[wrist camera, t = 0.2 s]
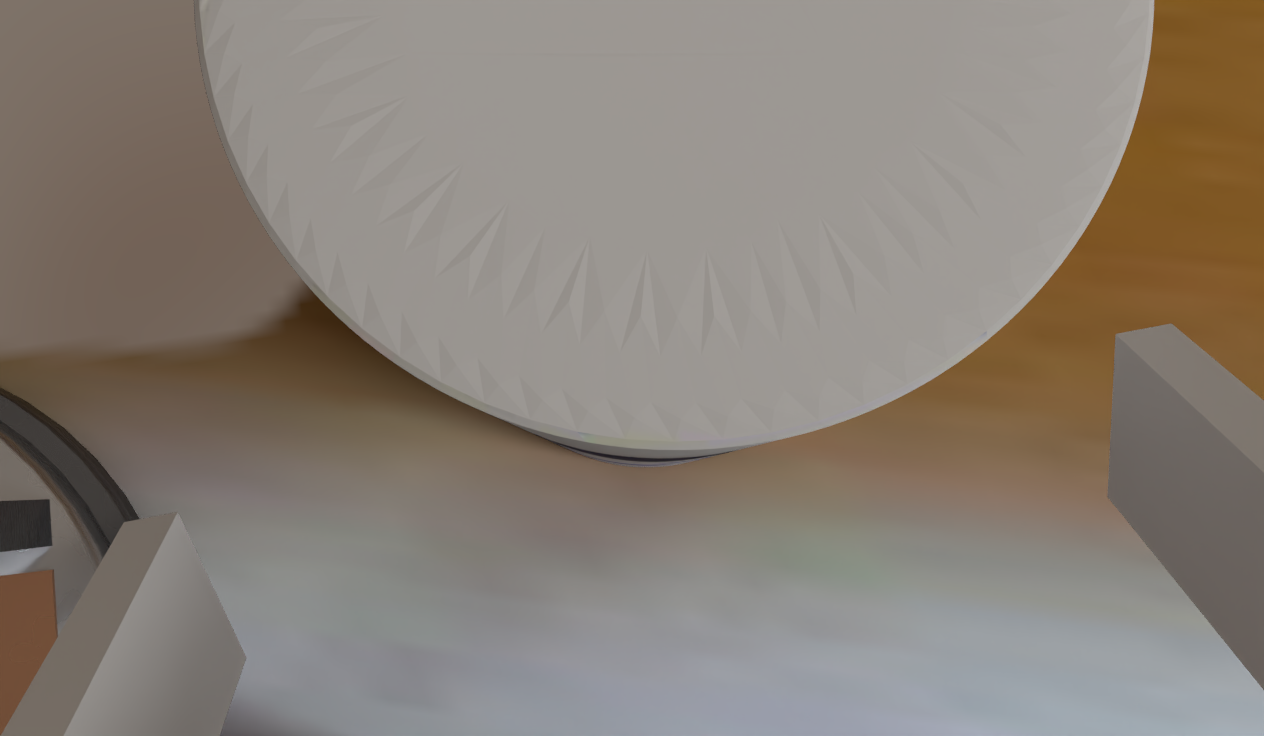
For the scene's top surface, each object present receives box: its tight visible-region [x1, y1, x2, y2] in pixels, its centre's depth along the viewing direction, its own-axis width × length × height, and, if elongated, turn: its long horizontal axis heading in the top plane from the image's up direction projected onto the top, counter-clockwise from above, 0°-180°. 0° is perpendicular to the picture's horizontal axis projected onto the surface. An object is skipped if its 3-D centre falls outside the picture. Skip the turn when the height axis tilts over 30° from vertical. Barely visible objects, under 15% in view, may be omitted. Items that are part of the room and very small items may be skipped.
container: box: [194, 0, 1154, 467], centre depth 21 cm, size 10×10×20 cm
